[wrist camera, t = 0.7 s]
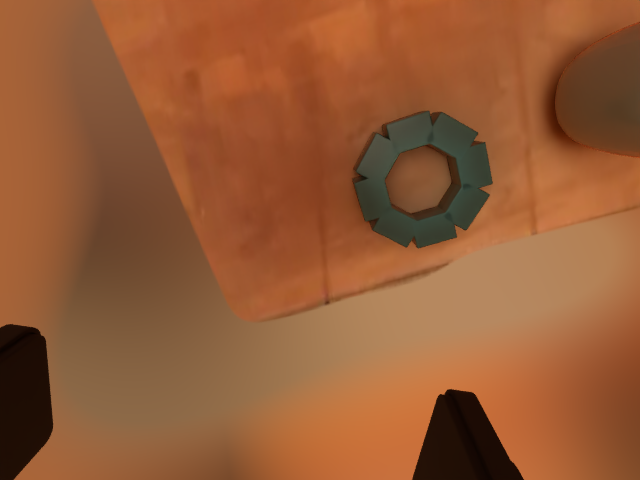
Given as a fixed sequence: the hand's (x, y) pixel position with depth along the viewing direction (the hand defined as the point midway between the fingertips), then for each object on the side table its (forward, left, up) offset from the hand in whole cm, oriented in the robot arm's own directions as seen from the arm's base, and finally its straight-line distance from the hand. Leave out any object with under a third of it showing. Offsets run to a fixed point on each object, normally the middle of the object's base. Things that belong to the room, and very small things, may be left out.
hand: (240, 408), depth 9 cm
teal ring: (-6, +7, -22) cm, 24 cm away
